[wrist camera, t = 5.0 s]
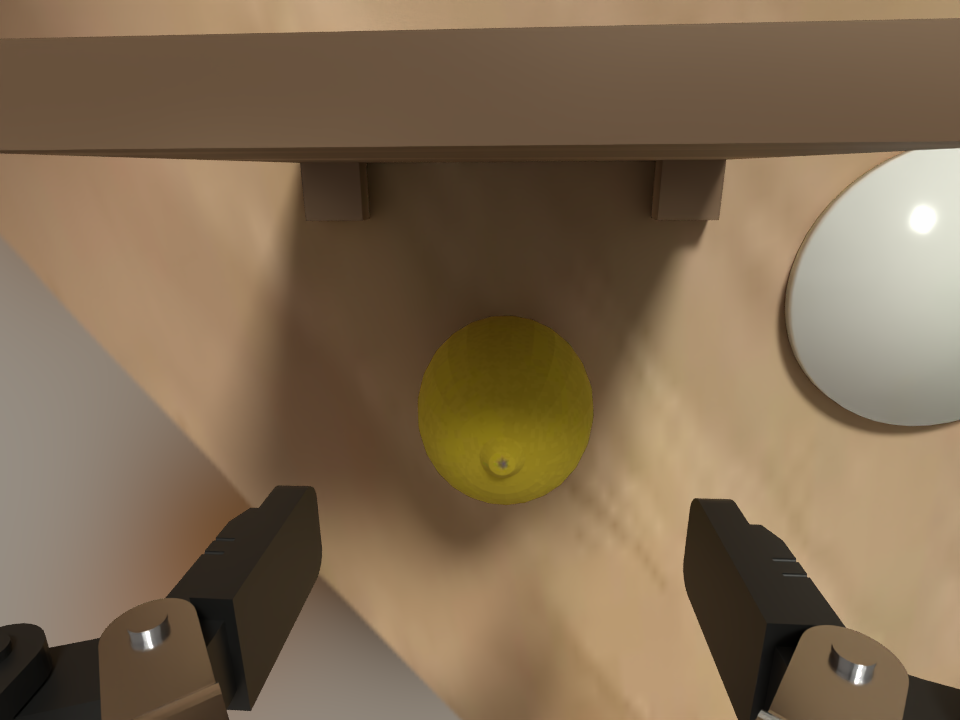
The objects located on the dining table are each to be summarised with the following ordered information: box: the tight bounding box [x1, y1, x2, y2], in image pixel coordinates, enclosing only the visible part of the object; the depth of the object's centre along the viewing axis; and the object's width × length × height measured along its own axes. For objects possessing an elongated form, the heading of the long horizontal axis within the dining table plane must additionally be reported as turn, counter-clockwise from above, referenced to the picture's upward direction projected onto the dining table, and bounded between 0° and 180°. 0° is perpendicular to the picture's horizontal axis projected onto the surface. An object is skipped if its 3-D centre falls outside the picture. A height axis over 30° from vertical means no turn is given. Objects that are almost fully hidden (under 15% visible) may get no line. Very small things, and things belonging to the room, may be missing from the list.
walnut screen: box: [0, 18, 960, 221], centre depth 13 cm, size 5×14×14 cm, turn 90°
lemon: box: [418, 316, 593, 505], centre depth 18 cm, size 6×6×8 cm
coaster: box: [785, 148, 960, 426], centre depth 20 cm, size 10×10×1 cm
